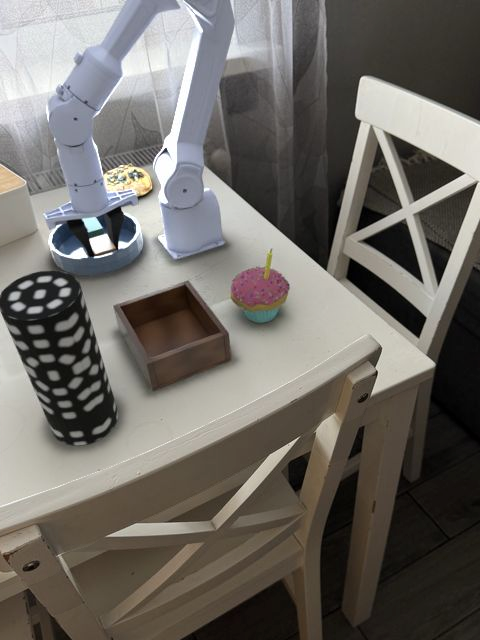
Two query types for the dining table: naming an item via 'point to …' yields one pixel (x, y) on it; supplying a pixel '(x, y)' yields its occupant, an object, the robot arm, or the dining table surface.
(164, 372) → the holder
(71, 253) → the bowl
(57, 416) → the white-spotted black cylinder
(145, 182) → the bread roll
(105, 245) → the brown block
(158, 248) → the dining table surface
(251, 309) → the cupcake
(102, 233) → the teal block
